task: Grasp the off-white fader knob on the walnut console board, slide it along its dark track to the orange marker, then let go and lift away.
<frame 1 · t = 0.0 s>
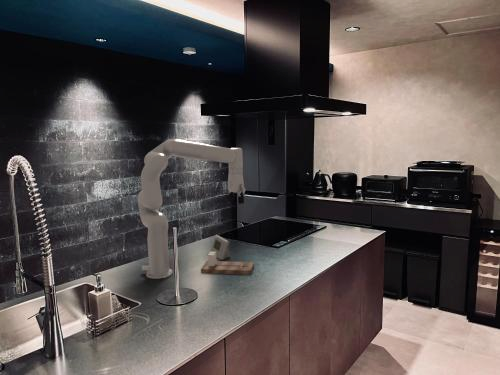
hand: (236, 202, 208), 31 cm above the countertop, tool pointing down, fingers open, 9 cm apart
fader knob: (212, 258, 194), point 5 cm above the countertop, slide at -8.0 cm
digital clock: (219, 256, 215), on the countertop
console board: (227, 269, 194), on the countertop
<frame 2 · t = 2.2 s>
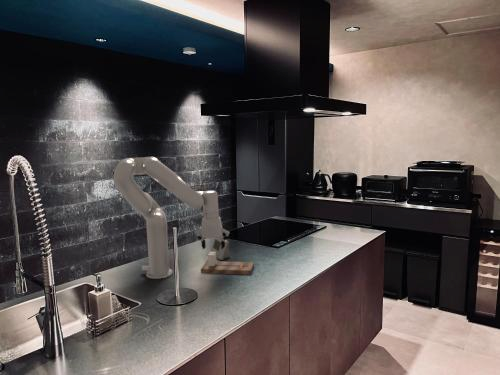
hand: (213, 248, 194), 11 cm above the countertop, tool pointing down, fingers open, 9 cm apart
nothing on the countertop moved.
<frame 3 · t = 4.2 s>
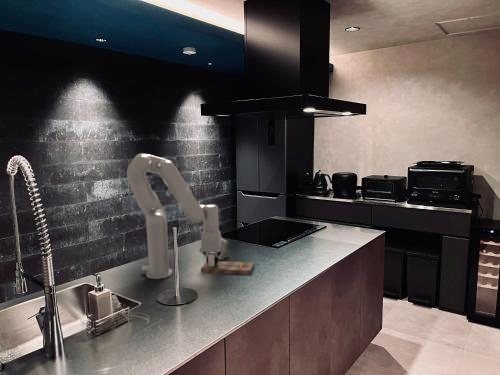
hand: (212, 263, 195), 3 cm above the countertop, tool pointing down, fingers closed on fader knob, 3 cm apart
fader knob: (212, 258, 194), point 5 cm above the countertop, slide at -8.0 cm, touching gripper
everything else where it was.
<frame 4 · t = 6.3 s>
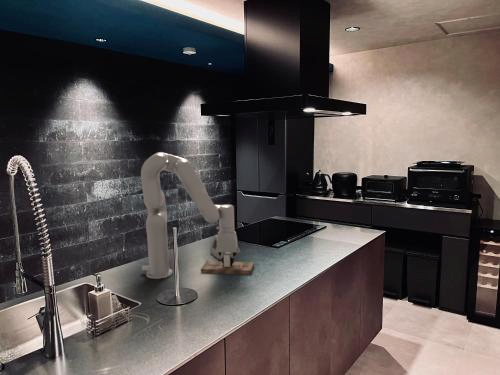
hand: (227, 264, 194), 3 cm above the countertop, tool pointing down, fingers closed on fader knob, 3 cm apart
fader knob: (227, 259, 193), point 5 cm above the countertop, slide at 0.0 cm, touching gripper
everything else where it was.
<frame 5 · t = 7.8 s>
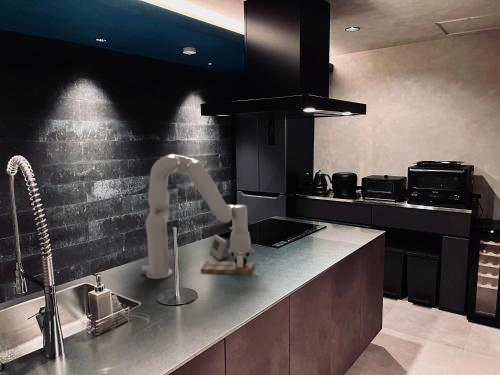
hand: (240, 264, 193), 3 cm above the countertop, tool pointing down, fingers closed on fader knob, 3 cm apart
fader knob: (240, 259, 192), point 5 cm above the countertop, slide at 6.7 cm, touching gripper
everything else where it was.
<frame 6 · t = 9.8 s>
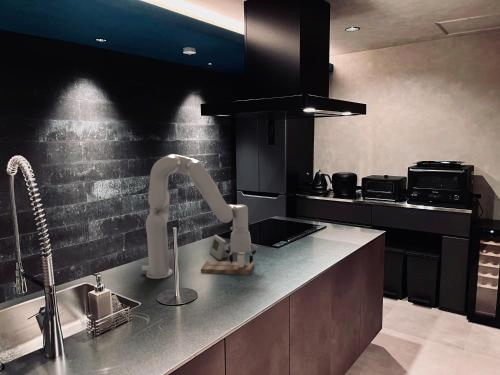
hand: (241, 262, 193), 4 cm above the countertop, tool pointing down, fingers open, 9 cm apart
fader knob: (241, 259, 192), point 5 cm above the countertop, slide at 7.0 cm
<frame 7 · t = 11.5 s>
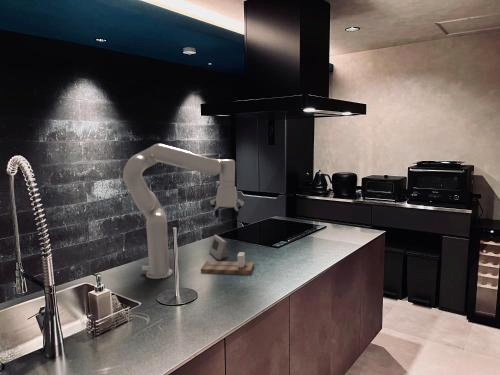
hand: (226, 217, 193), 26 cm above the countertop, tool pointing down, fingers open, 9 cm apart
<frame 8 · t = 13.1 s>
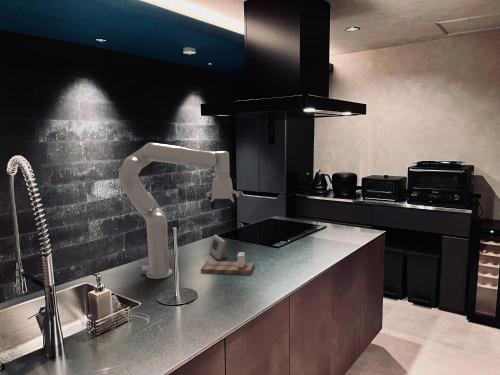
hand: (223, 209, 194), 30 cm above the countertop, tool pointing down, fingers open, 9 cm apart
at the end: fader knob slide at 7.0 cm; the gripper is holding nothing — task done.
